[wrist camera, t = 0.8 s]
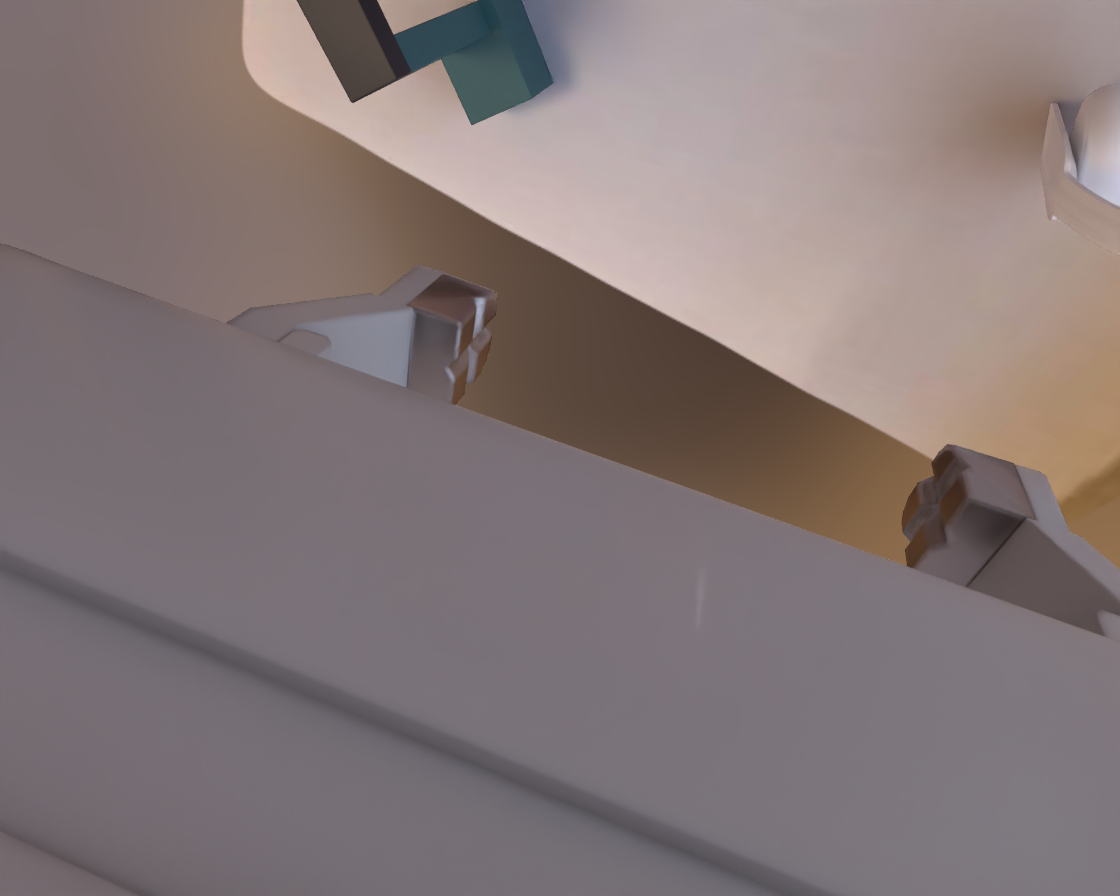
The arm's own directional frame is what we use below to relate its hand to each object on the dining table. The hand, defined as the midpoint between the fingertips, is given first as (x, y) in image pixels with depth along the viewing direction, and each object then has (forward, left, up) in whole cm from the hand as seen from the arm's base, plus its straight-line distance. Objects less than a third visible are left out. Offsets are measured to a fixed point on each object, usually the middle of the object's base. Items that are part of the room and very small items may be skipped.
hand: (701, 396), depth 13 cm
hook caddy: (+16, -14, -38) cm, 44 cm away
